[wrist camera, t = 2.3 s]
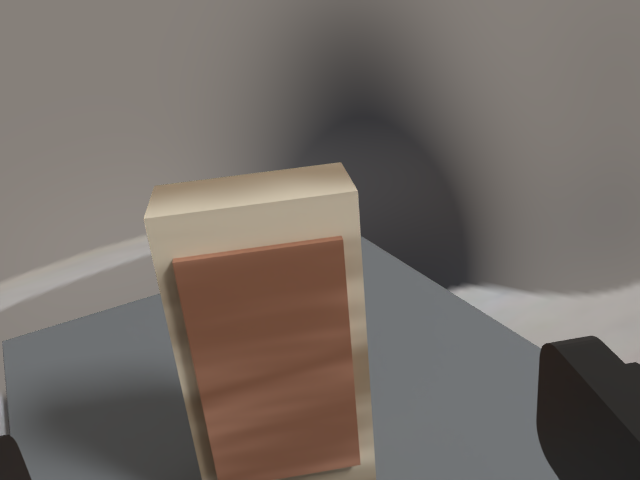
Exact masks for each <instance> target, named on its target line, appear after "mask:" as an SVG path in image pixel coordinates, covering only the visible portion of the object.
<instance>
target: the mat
mask: <svg viewBox="0 0 640 480" xmlns="http://www.w3.org/2000/svg"><path fill="white" fill-rule="evenodd" d="M361 250H362V266H363V281H364V297H365V312H366V328H367V344H368V359H369V375H370V390H371V406H372V422H373V437H374V453H375V469H376V480H559V478H558V477H557V475H556V474H555V472H554V471H553V469H552V468H551V466H550V465H549V463H548V461H547V460H546V458H545V456H544V453H543V451H542V448H541V445H540V442H539V438H538V434H537V426H536V415H537V395H538V376H539V357H540V351H541V348H539V347H538V346H536V345H534V344H533V343H531V342H530V341H528V340H526V339H525V338H523V337H522V336H520V335H518V334H517V333H515V332H514V331H512V330H510V329H509V328H507V327H506V326H504V325H502V324H501V323H499V322H498V321H496V320H494V319H493V318H491V317H490V316H488V315H486V314H485V313H483V312H482V311H480V310H478V309H477V308H475V307H474V306H472V305H470V304H469V303H467V302H466V301H464V300H462V299H461V298H459V297H458V296H456V295H454V294H453V293H451V292H450V291H448V290H446V289H445V288H443V287H442V286H440V285H438V284H437V283H435V282H434V281H432V280H430V279H429V278H427V277H426V276H424V275H422V274H421V273H419V272H418V271H416V270H414V269H413V268H411V267H409V266H408V265H406V264H405V263H403V262H402V261H400V260H398V259H397V258H395V257H394V256H392V255H390V254H389V253H387V252H385V251H384V250H382V249H381V248H379V247H378V246H376V245H374V244H373V243H371V242H369V241H368V240H366V239H365V238H363V237H362V236H361ZM2 343H3V344H2V345H3V357H4V368H5V380H6V392H7V403H8V415H9V426H10V436H11V437H13V438H14V439H15V441H16V442H17V444H18V446H19V449H20V451H21V454H22V456H23V459H24V461H25V464H26V466H27V469H28V472H29V474H30V477H31V479H32V480H202V478H201V473H200V469H199V464H198V460H197V455H196V451H195V446H194V442H193V437H192V433H191V428H190V424H189V420H188V415H187V411H186V406H185V402H184V397H183V393H182V388H181V384H180V379H179V375H178V370H177V366H176V362H175V357H174V353H173V348H172V344H171V339H170V335H169V330H168V326H167V321H166V317H165V312H164V308H163V304H162V299H161V295H160V294H157V295H154V296H150V297H147V298H144V299H140V300H137V301H134V302H130V303H127V304H124V305H121V306H117V307H114V308H111V309H108V310H104V311H101V312H98V313H94V314H91V315H88V316H85V317H81V318H78V319H75V320H72V321H68V322H65V323H62V324H58V325H55V326H52V327H48V328H45V329H42V330H38V331H35V332H32V333H29V334H26V335H22V336H19V337H16V338H12V339H9V340H6V341H3V342H2Z"/></svg>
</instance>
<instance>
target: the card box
mask: <svg viewBox="0 0 640 480" xmlns="http://www.w3.org/2000/svg"><path fill="white" fill-rule="evenodd" d="M144 223H145V228H146V232H147V237H148V241H149V246H150V250H151V254H152V259H153V263H154V268H155V272H156V277H157V281H158V286H159V290H160V295H161V299H162V304H163V308H164V312H165V317H166V321H167V326H168V330H169V335H170V339H171V344H172V348H173V353H174V357H175V362H176V366H177V370H178V375H179V379H180V384H181V388H182V393H183V397H184V402H185V406H186V411H187V415H188V420H189V424H190V428H191V433H192V437H193V442H194V446H195V451H196V455H197V460H198V464H199V469H200V473H201V478H202V480H376V469H375V453H374V437H373V422H372V406H371V390H370V375H369V359H368V344H367V328H366V312H365V297H364V281H363V266H362V250H361V234H360V219H359V204H358V191H357V189H356V187H355V185H354V184H353V182H352V180H351V179H350V177H349V176H348V174H347V172H346V170H345V168H344V167H343V165H342V163H341V162H340V163H332V164H324V165H316V166H309V167H300V168H292V169H285V170H277V171H269V172H261V173H253V174H245V175H237V176H229V177H221V178H213V179H205V180H197V181H189V182H181V183H173V184H165V185H157V186H154V189H153V192H152V195H151V198H150V201H149V204H148V207H147V210H146V213H145V216H144Z"/></svg>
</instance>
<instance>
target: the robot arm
mask: <svg viewBox="0 0 640 480" xmlns="http://www.w3.org/2000/svg"><path fill="white" fill-rule="evenodd" d="M536 426H537V434H538V438H539V442H540V445H541V448H542V451H543V453H544V456H545V458H546V460H547V461H548V463H549V465H550V466H551V468H552V469H553V471H554V472H555V474H556V475H557V477H558V478H559V480H640V364H638V363H636V362H634V363H628V364H625V363H624V362H623V361H622V360H621V359H620V358H619V357H618V356H617V355H616V354H615V353H613V352H612V351H611V350H610V349H609V348H608V347H607V346H606V345H605V344H604V343H603V342H602V341H601V340H600V339H599V338H597V337H595V336H587V337H581V338H575V339H569V340H564V341H558V342H552V343H546V344H544V345H543V346H542V348H541V351H540V357H539V376H538V395H537V415H536ZM0 480H32V479H31V477H30V474H29V472H28V469H27V466H26V464H25V461H24V459H23V456H22V454H21V451H20V449H19V446H18V444H17V442H16V441H15V439H14V438H13V437H11V436H10V435H3V436H0Z"/></svg>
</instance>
